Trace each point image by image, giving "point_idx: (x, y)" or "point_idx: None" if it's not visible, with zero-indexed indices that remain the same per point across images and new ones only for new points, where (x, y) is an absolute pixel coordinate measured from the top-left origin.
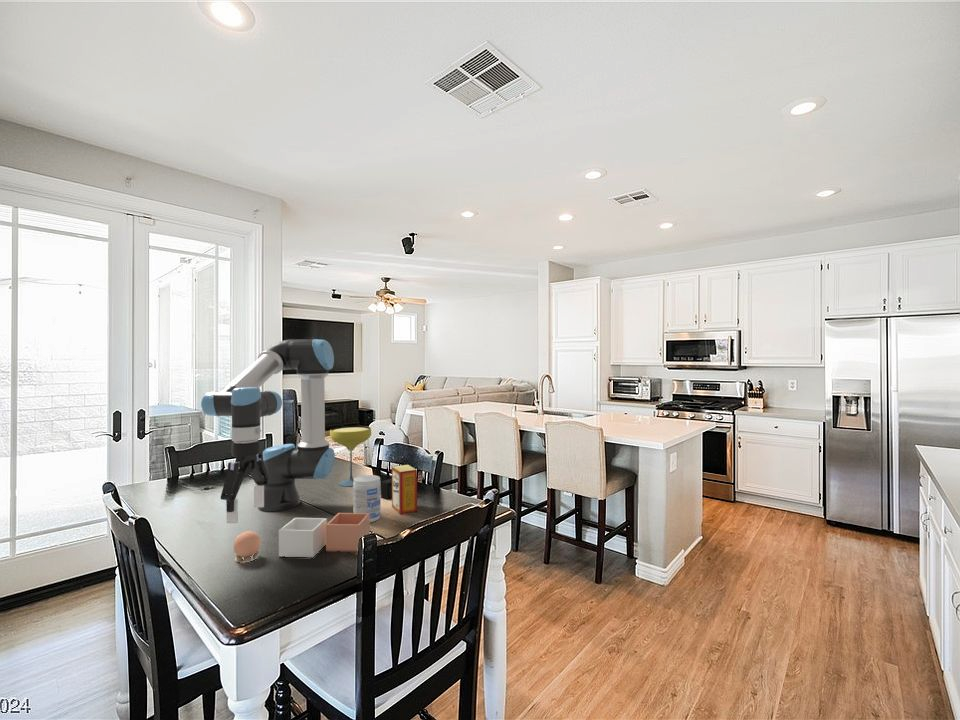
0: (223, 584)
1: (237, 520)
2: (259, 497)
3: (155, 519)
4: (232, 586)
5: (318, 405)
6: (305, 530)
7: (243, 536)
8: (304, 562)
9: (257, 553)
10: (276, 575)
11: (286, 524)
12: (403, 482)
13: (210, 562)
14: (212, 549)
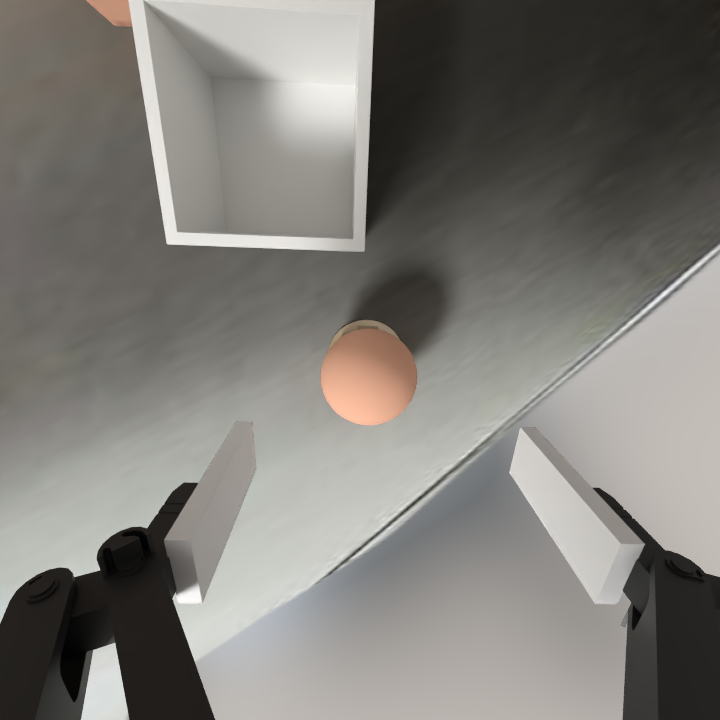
0: (541, 335)
1: (530, 434)
2: (232, 483)
3: None
4: (559, 301)
5: None
6: (366, 66)
7: (400, 395)
8: (401, 108)
9: (363, 328)
10: (504, 183)
11: (278, 245)
12: None
13: (393, 446)
14: (305, 487)
